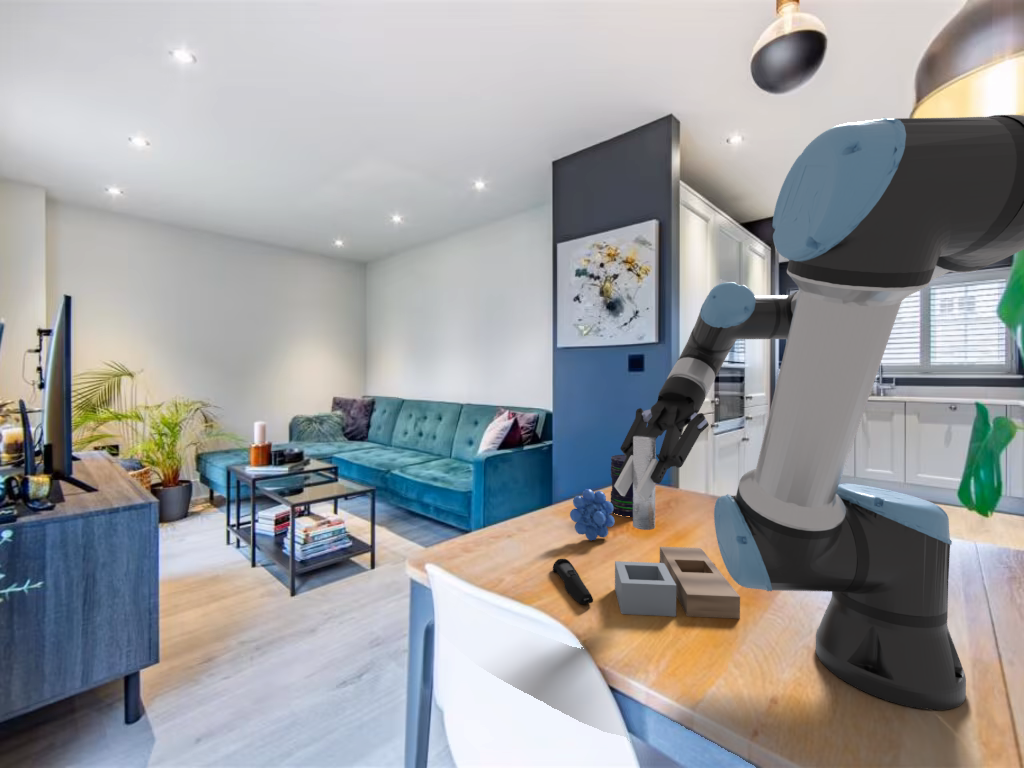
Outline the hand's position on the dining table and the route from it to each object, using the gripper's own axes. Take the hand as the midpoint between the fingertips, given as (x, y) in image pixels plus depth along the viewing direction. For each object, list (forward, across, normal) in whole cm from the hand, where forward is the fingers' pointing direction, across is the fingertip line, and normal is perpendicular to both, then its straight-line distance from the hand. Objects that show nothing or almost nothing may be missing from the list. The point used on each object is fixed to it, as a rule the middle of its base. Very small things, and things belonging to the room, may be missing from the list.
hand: (630, 493), depth 76 cm
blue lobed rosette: (+1, +23, -27) cm, 35 cm away
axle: (+2, 0, -7) cm, 7 cm away
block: (+11, 0, -16) cm, 19 cm away
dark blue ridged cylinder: (-16, +32, -44) cm, 56 cm away
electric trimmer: (+15, +11, -13) cm, 22 cm away
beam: (+3, -3, -24) cm, 24 cm away
